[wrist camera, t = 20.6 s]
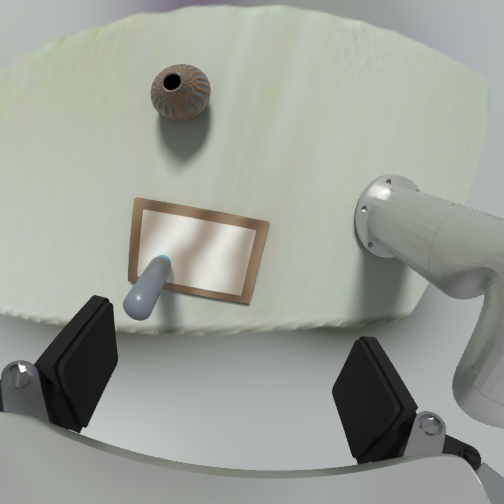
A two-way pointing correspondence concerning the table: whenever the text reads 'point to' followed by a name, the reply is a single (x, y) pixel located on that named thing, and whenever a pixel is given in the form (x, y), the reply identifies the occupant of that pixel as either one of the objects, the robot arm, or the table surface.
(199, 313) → the table surface
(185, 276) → the brown picture frame
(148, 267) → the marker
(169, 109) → the vase
